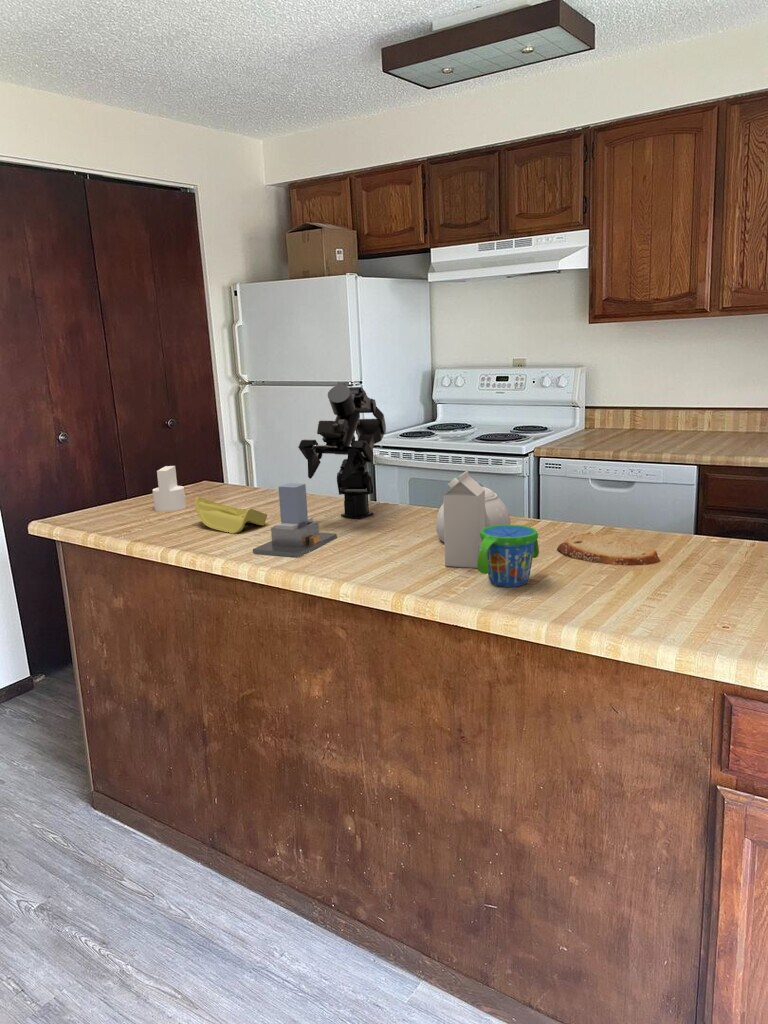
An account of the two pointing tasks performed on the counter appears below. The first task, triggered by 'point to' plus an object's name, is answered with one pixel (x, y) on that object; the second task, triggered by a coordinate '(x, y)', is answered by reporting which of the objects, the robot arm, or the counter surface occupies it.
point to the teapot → (493, 513)
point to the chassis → (295, 541)
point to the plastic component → (226, 516)
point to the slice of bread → (607, 550)
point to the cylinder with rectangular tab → (168, 491)
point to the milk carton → (463, 521)
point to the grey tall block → (293, 506)
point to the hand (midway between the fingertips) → (325, 478)
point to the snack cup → (507, 554)
